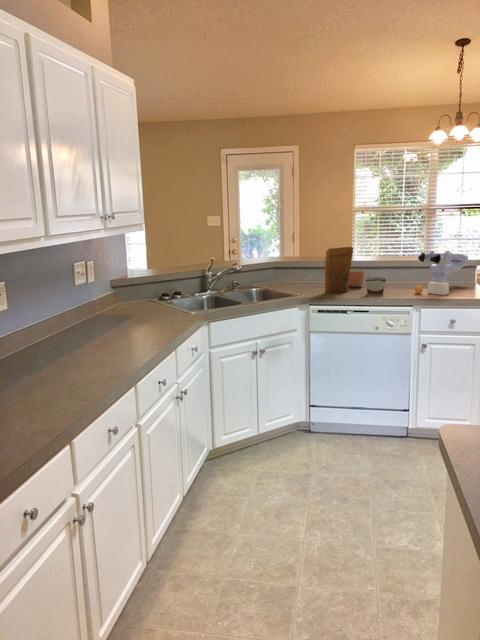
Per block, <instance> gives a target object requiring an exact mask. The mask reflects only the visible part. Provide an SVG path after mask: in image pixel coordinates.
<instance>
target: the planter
mask: <svg viewBox="0 0 480 640" xmlns="http://www.w3.org/2000/svg"><path fill="white" fill-rule="evenodd" d="M365 273H366V271H365V270H364V269H361V268H360V269H358V268H357V269H356V268H354V269H353V268H352V269H351V268H350V272H349V282H348V288H354V289H355V288H357V289H358V288H360V287H362V286H363V285H364V283H365V276H366V275H365Z"/></svg>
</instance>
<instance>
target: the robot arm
mask: <svg viewBox="0 0 480 640" xmlns="http://www.w3.org/2000/svg"><path fill="white" fill-rule="evenodd" d="M417 258H418V259H417V260H419V261H420V262H422V263H425V261H426V262H428V263H429V264H430V263H431V265H430V266H429V273H430V275H431V282H443V283H448V282H447V281H448V280H447V274H449V273H453V272H454V273H456V272H458V271H460V270H461V269H462V268H463V267H466V266H467V263H468V261H469V256H468V255H467V254H464V253H463V254H462V253H453V252H452V251H450V250H445V251H444V250H443V251H436V252H435V251H434V250H431V251H430V252H429V253H425V252H421V253H420V254H419V255H418V257H417ZM440 262H449V263H448V264H440ZM433 263H434V264H433Z"/></svg>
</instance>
